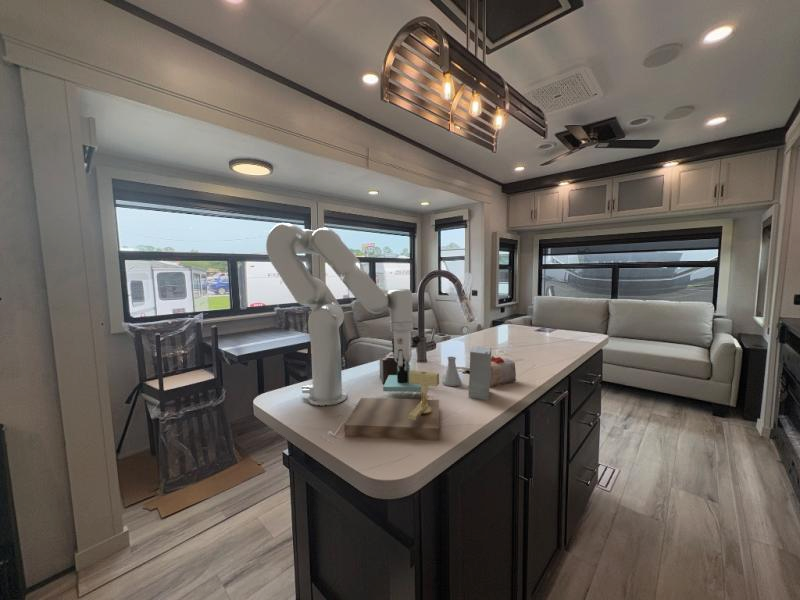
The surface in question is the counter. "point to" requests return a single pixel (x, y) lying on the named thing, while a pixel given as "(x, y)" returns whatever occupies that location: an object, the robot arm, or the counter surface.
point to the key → (422, 391)
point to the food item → (502, 371)
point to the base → (392, 419)
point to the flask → (451, 373)
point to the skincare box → (479, 372)
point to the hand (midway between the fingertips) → (403, 380)
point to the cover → (400, 384)
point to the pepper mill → (393, 360)
